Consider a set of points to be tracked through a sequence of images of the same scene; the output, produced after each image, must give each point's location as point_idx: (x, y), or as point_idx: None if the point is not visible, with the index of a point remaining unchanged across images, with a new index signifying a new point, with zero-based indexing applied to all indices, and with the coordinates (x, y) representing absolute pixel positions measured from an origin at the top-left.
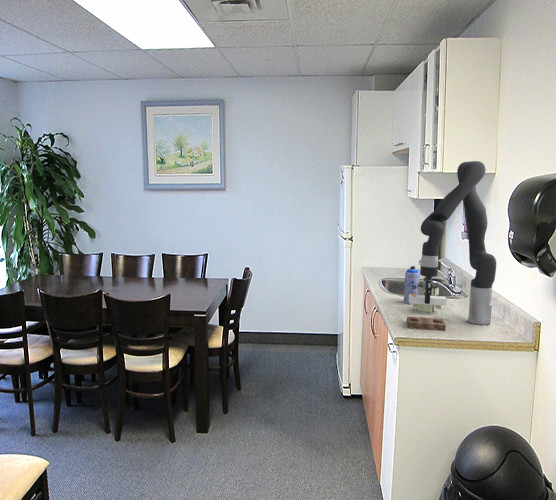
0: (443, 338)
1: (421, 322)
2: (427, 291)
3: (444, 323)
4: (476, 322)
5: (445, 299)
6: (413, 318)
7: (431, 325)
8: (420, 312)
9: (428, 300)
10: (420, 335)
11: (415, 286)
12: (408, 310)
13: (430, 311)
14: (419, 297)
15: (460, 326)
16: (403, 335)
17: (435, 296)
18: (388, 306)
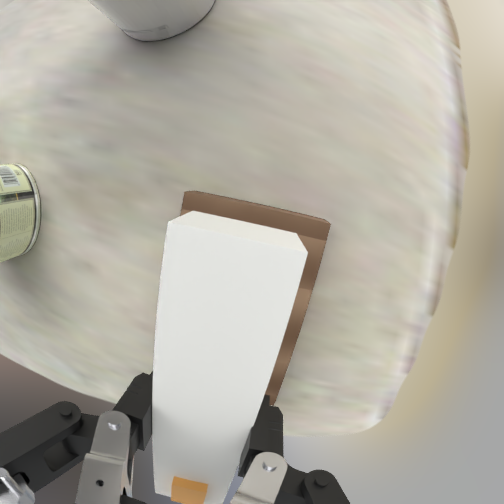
0: (431, 274)
1: None
2: (129, 444)
3: (290, 217)
4: (202, 10)
5: (302, 265)
6: None
7: (307, 303)
8: (31, 247)
9: (281, 429)
10: (379, 362)
11: None
12: (21, 289)
13: (32, 207)
14: (231, 478)
15: (236, 98)
16: (365, 416)
17: (174, 356)
18: (8, 342)
